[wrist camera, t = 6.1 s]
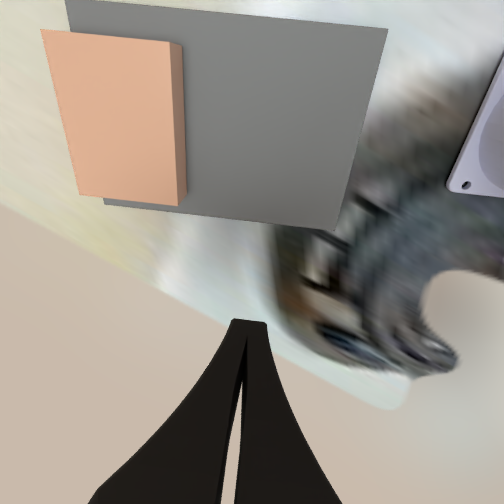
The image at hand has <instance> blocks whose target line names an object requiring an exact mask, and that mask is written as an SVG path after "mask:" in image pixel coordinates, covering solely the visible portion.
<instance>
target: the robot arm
mask: <svg viewBox="0 0 504 504" xmlns="http://www.w3.org/2000/svg"><path fill="white" fill-rule="evenodd" d="M466 181H468V183H467V185H466V186H465V187H462V184H463V183H464V182H466ZM446 187H447V188H448V189H449V190H450V191H452V192H457V193H466V194H475V195H484V196H493V197H502V198H504V56H503V59H502V61H501V63H500V65H499V67H498V70H497V72H496V74H495V76H494V79H493V81H492V83H491V85H490V87H489V90H488V92H487V94H486V96H485V99H484V101H483V103H482V105H481V107H480V110H479V112H478V114H477V116H476V118H475V121H474V123H473V125H472V127H471V130H470V132H469V134H468V136H467V138H466V141H465V143H464V145H463V147H462V149H461V152H460V154H459V156H458V158H457V161H456V163H455V165H454V167H453V169H452V172H451V174H450V176H449V178H448V180H447V183H446ZM241 384H242V409H241V412H242V413H241V439H240V440H241V441H240V454H239V462H238V463H239V464H238V471H237V480H236V489H235V499H234V504H342V502H341V501H340V499H339V498H338V496H337V494H336V493H335V491H334V489H333V488H332V486H331V484H330V483H329V481H328V479H327V478H326V476H325V474H324V472H323V471H322V469H321V467H320V465H319V464H318V462H317V460H316V458H315V456H314V454H313V452H312V450H311V449H310V447H309V445H308V443H307V441H306V439H305V437H304V435H303V433H302V431H301V429H300V427H299V425H298V423H297V421H296V418H295V416H294V414H293V412H292V409H291V407H290V405H289V402H288V400H287V397H286V395H285V392H284V390H283V387H282V384H281V381H280V379H279V376H278V373H277V369H276V366H275V363H274V360H273V356H272V352H271V348H270V343H269V338H268V332H267V324H266V323H265V322H259V321H251V320H243V319H235V318H234V319H233V320H231V323H230V326H229V328H228V330H227V333H226V335H225V337H224V339H223V341H222V343H221V345H220V346H219V348H218V350H217V352H216V353H215V355H214V357H213V358H212V360H211V362H210V363H209V365H208V366H207V368H206V369H205V371H204V372H203V374H202V375H201V377H200V378H199V380H198V381H197V383H196V384H195V385H194V387H193V388H192V389H191V391H190V392H189V393H188V395H187V396H186V397H185V399H184V400H183V401H182V402H181V404H180V405H179V406H178V407H177V408H176V410H175V411H174V412H173V413H172V414H171V416H170V417H169V418H168V419H167V420H166V421H165V422H164V424H163V425H162V426H161V427H160V428H159V429H158V430H157V431H156V432H155V433H154V435H152V436H151V437H150V439H149V440H148V441H147V442H146V443H145V444H144V445H143V446H142V447H141V448H140V449H139V450H138V451H137V452H136V453H135V454H134V455H133V456H132V457H131V458H130V459H129V460H128V461H127V462H126V463H125V464H124V465H123V466H121V467H120V468H119V469H118V470H117V471H116V472H115V473H114V474H113V475H112V476H111V477H110V478H109V479H108V480H106V481H105V482H104V483H103V484H102V485H101V486H100V487H99V488H98V489H97V490H96V492H95V493H94V495H93V497H92V498H91V499H90V501H89V503H88V504H221V497H222V490H223V482H224V475H225V466H226V459H227V452H228V446H229V440H230V435H231V431H232V426H233V421H234V417H235V412H236V407H237V402H238V398H239V393H240V388H241Z"/></svg>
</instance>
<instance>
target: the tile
mask: <svg viewBox="0 0 504 504" xmlns="http://www.w3.org/2000/svg"><path fill="white" fill-rule="evenodd" d="M40 30H41V34H42V39H43V43H44V47H45V51H46V55H47V60H48V64H49V68H50V72H51V77H52V81H53V85H54V89H55V93H56V98H57V102H58V106H59V110H60V114H61V119H62V123H63V127H64V131H65V135H66V140H67V144H68V148H69V152H70V156H71V161H72V165H73V169H74V173H75V177H76V182H77V186H78V190H79V194H80V195H85V196H94V197H102V198H111V199H120V200H128V201H137V202H146V203H155V204H163V205H172V206H178V205H179V204H180V203H181V201H182V200H183V199H184V198H185V196H186V195H187V181H186V151H185V121H184V90H183V60H182V46H181V45H178V44H174V43H171V42H164V41H155V40H145V39H135V38H125V37H115V36H105V35H95V34H85V33H75V32H65V31H55V30H45V29H40Z"/></svg>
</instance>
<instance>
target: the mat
mask: <svg viewBox="0 0 504 504" xmlns="http://www.w3.org/2000/svg"><path fill="white" fill-rule="evenodd" d="M65 4H66V10H67V15H68V20H69V25H70V30H71V32H75V33H85V34H95V35H105V36H115V37H125V38H135V39H145V40H155V41H164V42H171V43H174V44H178V45H181V46H182V60H183V90H184V121H185V151H186V181H187V195H186V196H185V198H184V199H183V200H182V201H181V203H180V204H179V205H178V206H172V205H163V204H155V203H146V202H137V201H128V200H120V199H111V198H103V200H104V204H105V205H114V206H123V207H131V208H140V209H149V210H157V211H166V212H175V213H183V214H192V215H201V216H210V217H218V218H227V219H236V220H244V221H253V222H262V223H271V224H279V225H288V226H297V227H305V228H314V229H323V230H331V231H335V228H336V224H337V220H338V216H339V213H340V209H341V205H342V201H343V198H344V194H345V190H346V186H347V183H348V179H349V175H350V172H351V168H352V164H353V160H354V157H355V153H356V149H357V145H358V142H359V138H360V134H361V130H362V127H363V123H364V119H365V115H366V112H367V108H368V104H369V100H370V97H371V93H372V89H373V85H374V82H375V78H376V74H377V70H378V67H379V63H380V59H381V55H382V52H383V48H384V44H385V40H386V37H387V33H388V29H385V28H374V27H364V26H354V25H344V24H333V23H323V22H313V21H303V20H292V19H282V18H272V17H261V16H251V15H241V14H231V13H220V12H210V11H200V10H190V9H179V8H169V7H159V6H148V5H138V4H128V3H118V2H107V1H97V0H65Z"/></svg>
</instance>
